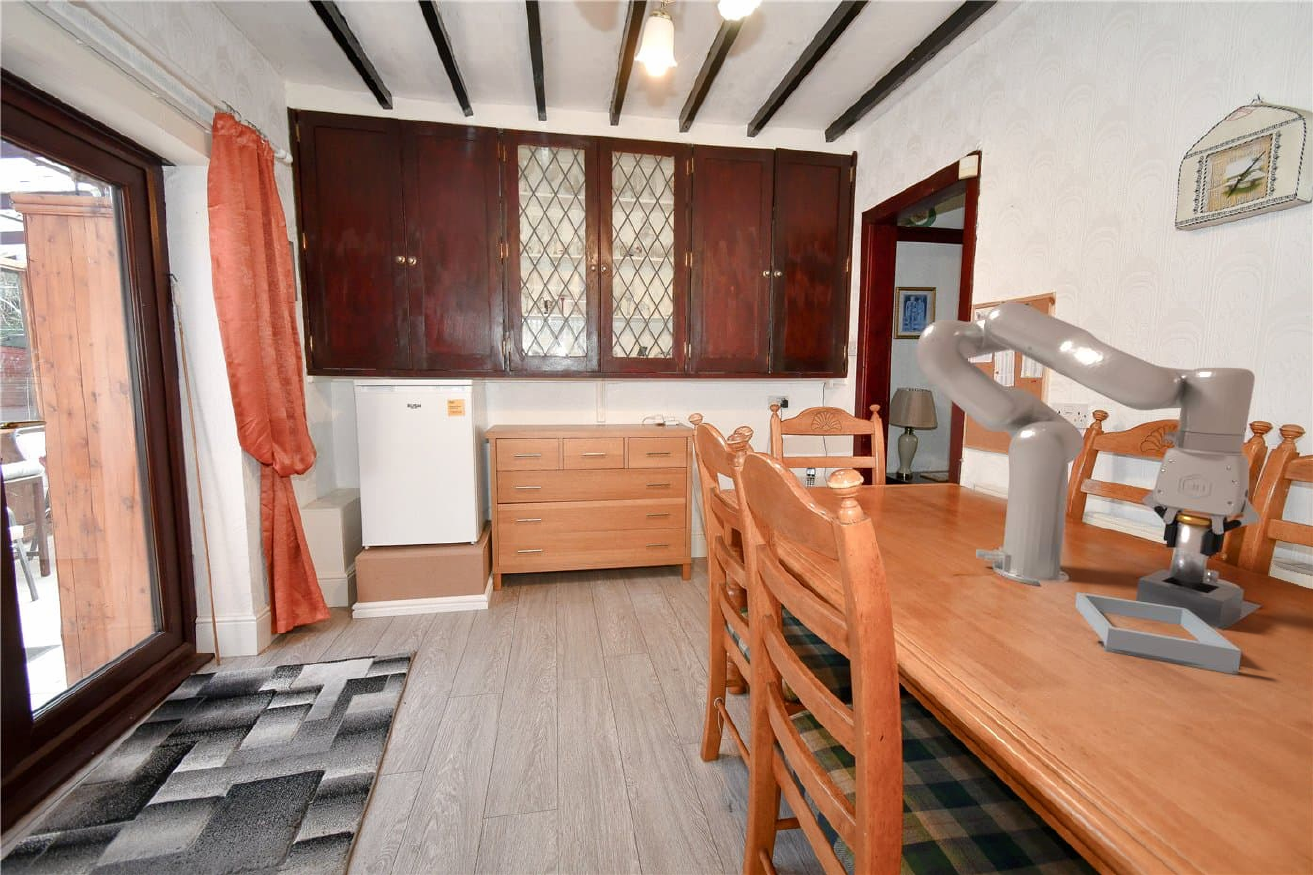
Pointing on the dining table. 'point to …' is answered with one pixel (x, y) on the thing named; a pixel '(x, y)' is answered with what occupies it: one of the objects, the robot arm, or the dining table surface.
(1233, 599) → the dark grey slotted base
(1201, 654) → the gray square frame
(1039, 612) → the dining table surface
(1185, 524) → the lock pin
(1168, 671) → the dining table surface
